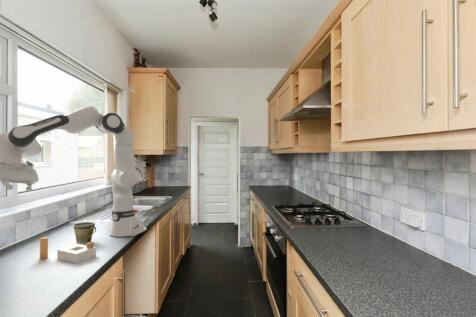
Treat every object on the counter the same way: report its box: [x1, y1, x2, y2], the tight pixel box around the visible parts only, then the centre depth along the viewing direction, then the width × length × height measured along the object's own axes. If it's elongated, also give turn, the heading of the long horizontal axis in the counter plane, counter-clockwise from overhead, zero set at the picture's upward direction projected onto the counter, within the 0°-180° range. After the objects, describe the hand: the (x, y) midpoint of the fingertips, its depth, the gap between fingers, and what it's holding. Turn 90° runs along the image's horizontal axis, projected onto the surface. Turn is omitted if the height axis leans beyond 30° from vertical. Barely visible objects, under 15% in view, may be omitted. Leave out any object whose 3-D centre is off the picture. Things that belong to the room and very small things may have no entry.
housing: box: [56, 241, 97, 264], centre depth 126 cm, size 10×12×6 cm
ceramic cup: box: [73, 221, 97, 245], centre depth 146 cm, size 13×10×10 cm
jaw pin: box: [39, 236, 49, 260], centre depth 124 cm, size 3×3×9 cm
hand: (20, 190), depth 129 cm, fingers open, 8 cm apart
